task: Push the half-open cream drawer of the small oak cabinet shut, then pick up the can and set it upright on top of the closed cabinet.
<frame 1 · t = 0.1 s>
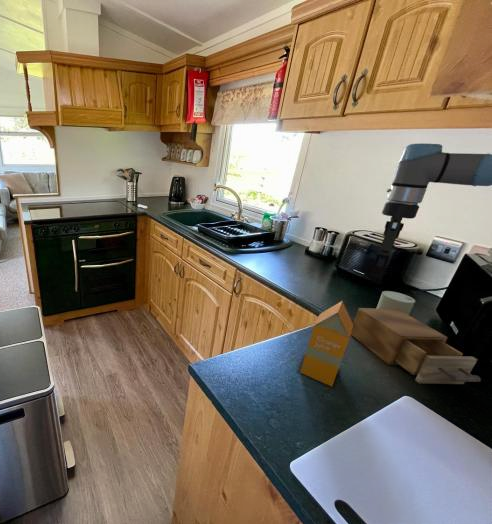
hand: (377, 272, 89), 23 cm above the countertop, tool pointing down, fingers open, 13 cm apart
orange juice: (318, 371, 78), on the countertop
can: (386, 325, 104), on the countertop
cabinet: (388, 348, 91), on the countertop
drawer: (428, 358, 79), point 5 cm above the countertop, slide at 7.0 cm
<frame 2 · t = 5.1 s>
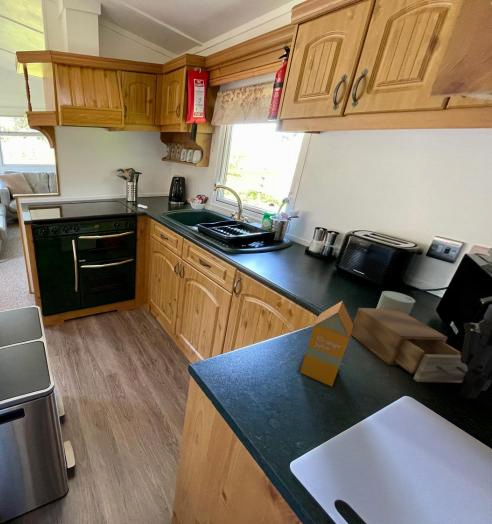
hand: (467, 396, 69), 2 cm above the countertop, tool pointing down, fingers closed
drawer: (426, 357, 79), point 5 cm above the countertop, slide at 6.5 cm, touching gripper
everything else where it was.
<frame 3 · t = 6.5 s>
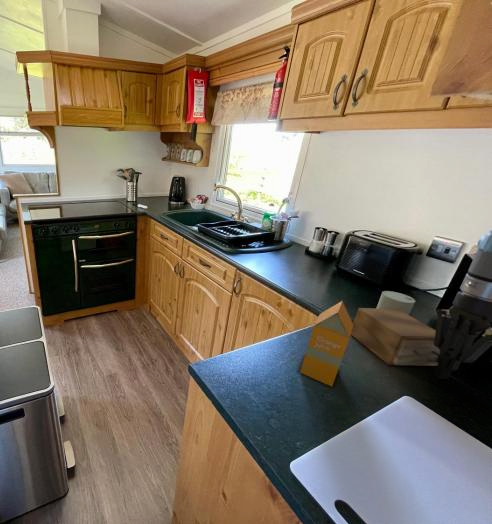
hand: (440, 376, 76), 2 cm above the countertop, tool pointing down, fingers closed
drawer: (405, 342, 85), point 5 cm above the countertop, slide at 0.0 cm, touching cabinet, gripper
everything else where it was.
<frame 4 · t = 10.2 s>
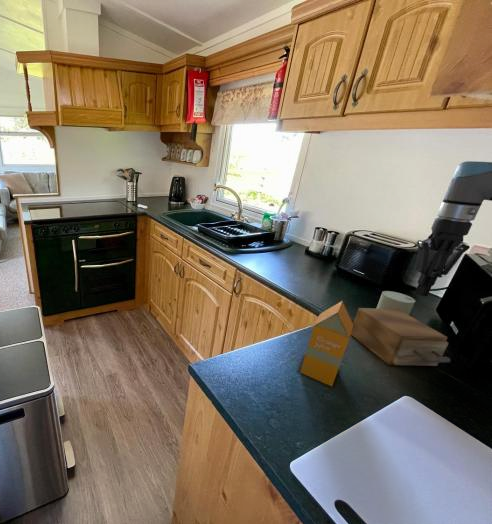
hand: (420, 294, 89), 17 cm above the countertop, tool pointing down, fingers closed
drawer: (405, 342, 85), point 5 cm above the countertop, slide at 0.0 cm, touching cabinet
everything else where it was.
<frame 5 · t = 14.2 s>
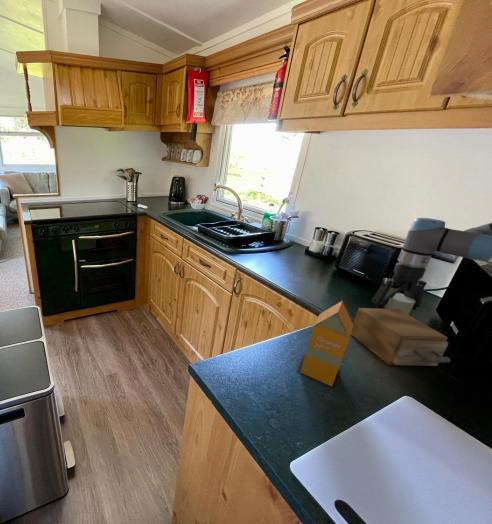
hand: (387, 322, 104), 1 cm above the countertop, tool pointing down, fingers closed on can, 9 cm apart
can: (386, 325, 104), on the countertop, touching gripper
everything else where it was.
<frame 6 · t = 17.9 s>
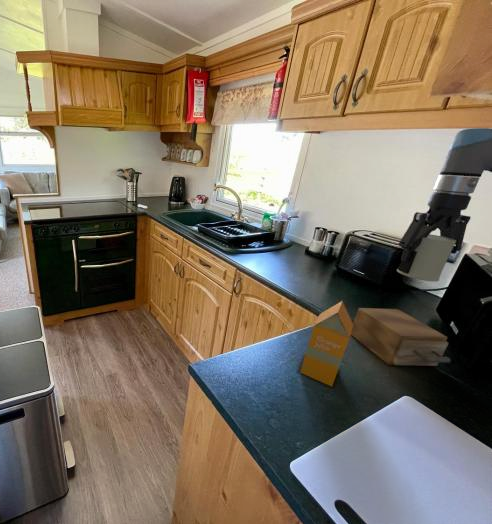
hand: (418, 272, 84), 25 cm above the countertop, tool pointing down, fingers closed on can, 9 cm apart
can: (416, 275, 84), point 24 cm above the countertop, touching gripper
everything else where it was.
when the fingers open (11 cm above the countertop, at t = 22.0 s): can stays where it is, resting on cabinet.
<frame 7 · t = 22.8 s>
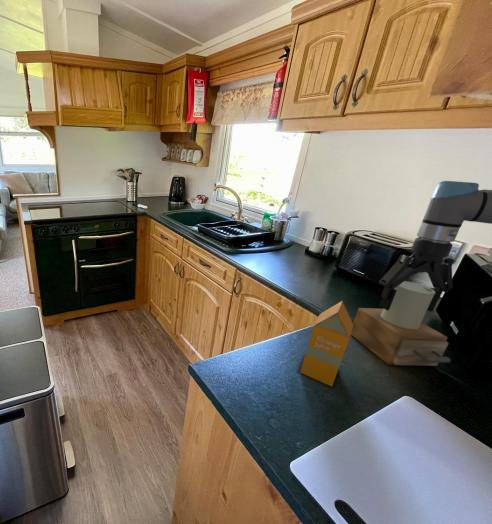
hand: (405, 308, 86), 14 cm above the countertop, tool pointing down, fingers open, 13 cm apart
can: (399, 321, 87), point 10 cm above the countertop, touching cabinet
everything else where it was.
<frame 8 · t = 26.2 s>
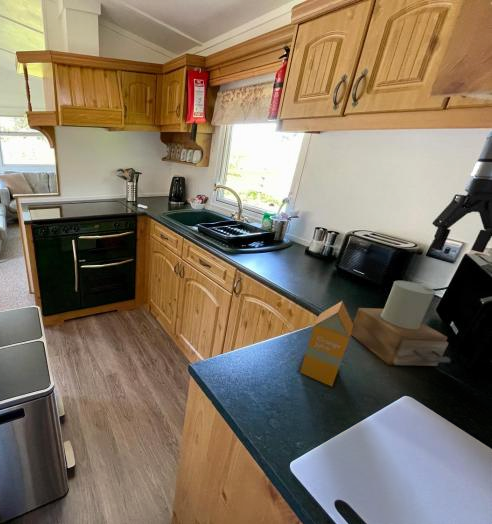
hand: (456, 250, 89), 31 cm above the countertop, tool pointing down, fingers open, 13 cm apart
nothing on the countertop moved.
at the end: drawer slide at 0.0 cm; can inside the target area on the cabinet (0.0 cm from its centre), point 9.6 cm above the cabinet's base; can tilted 0° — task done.
